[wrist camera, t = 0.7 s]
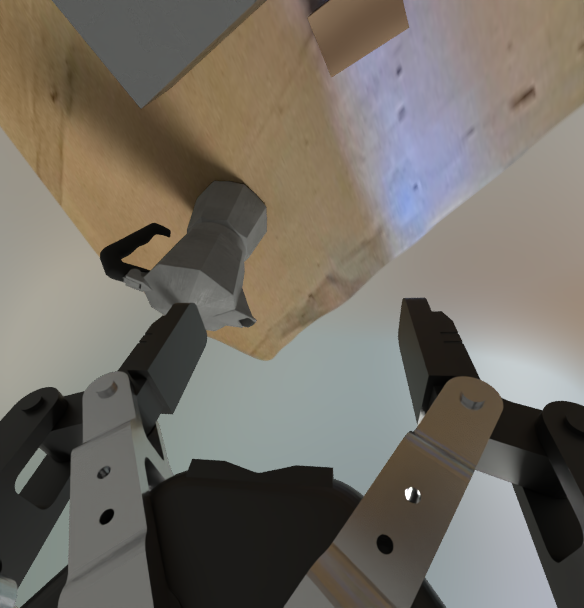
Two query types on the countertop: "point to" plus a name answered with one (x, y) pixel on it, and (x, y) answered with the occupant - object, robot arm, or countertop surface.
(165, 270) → the coffeepot
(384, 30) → the walnut offcut
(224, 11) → the stand
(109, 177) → the countertop surface
